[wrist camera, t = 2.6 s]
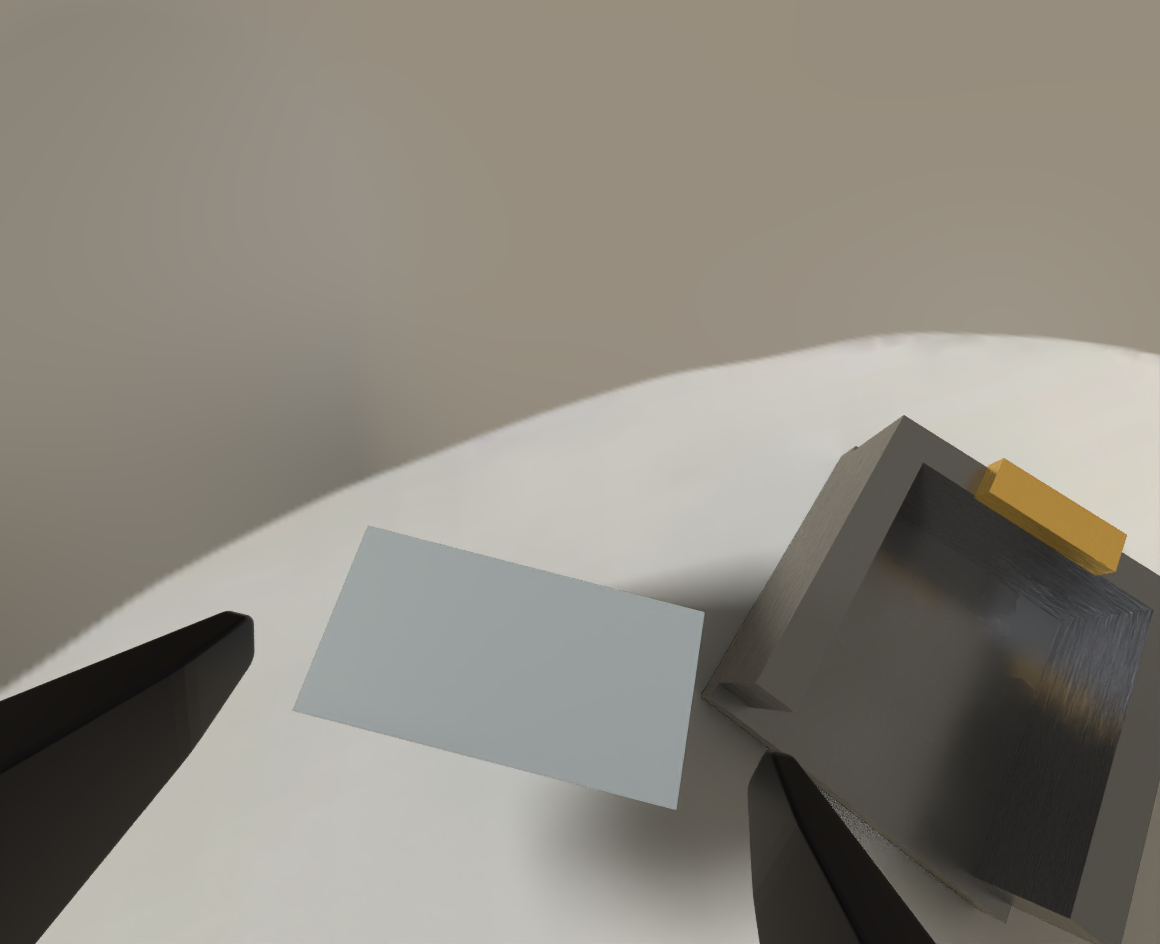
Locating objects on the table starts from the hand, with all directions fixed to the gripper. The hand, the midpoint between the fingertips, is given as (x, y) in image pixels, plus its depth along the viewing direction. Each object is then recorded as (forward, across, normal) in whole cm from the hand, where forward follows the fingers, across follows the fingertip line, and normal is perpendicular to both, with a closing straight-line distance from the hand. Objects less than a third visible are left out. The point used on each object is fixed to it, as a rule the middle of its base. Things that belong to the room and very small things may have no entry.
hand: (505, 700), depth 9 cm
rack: (+9, -13, +3) cm, 16 cm away
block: (+6, 0, +6) cm, 9 cm away
